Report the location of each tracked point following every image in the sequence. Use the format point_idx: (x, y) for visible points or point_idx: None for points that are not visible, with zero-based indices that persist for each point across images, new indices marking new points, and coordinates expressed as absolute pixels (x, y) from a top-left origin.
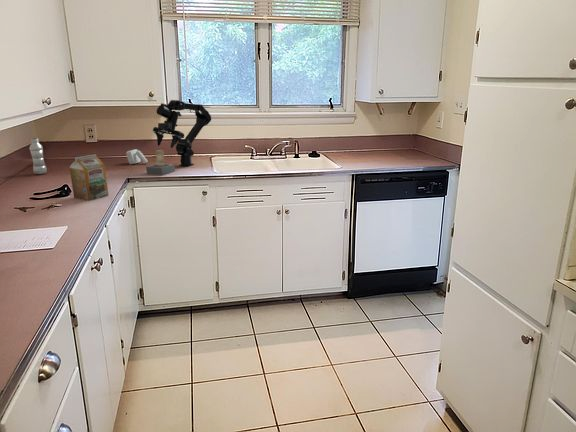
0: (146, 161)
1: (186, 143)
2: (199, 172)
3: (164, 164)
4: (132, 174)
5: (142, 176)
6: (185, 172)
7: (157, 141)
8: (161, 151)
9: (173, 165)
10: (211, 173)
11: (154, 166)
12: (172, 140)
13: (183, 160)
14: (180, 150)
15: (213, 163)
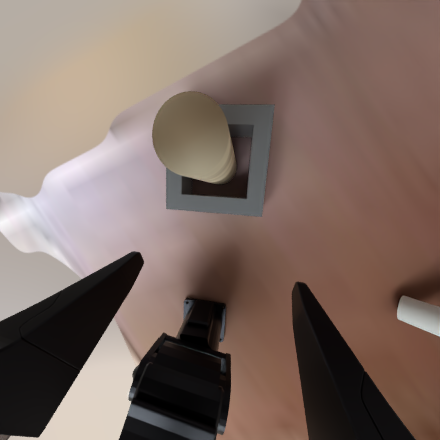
0: (401, 307)
1: (124, 430)
2: (90, 221)
3: (213, 196)
4: (327, 71)
5: (250, 56)
6: (132, 204)
7: (334, 328)
8: (155, 122)
9: (167, 202)
10: (48, 220)
11: (250, 156)
12: (45, 312)
13: (193, 314)
14: (183, 355)
15: (137, 364)
